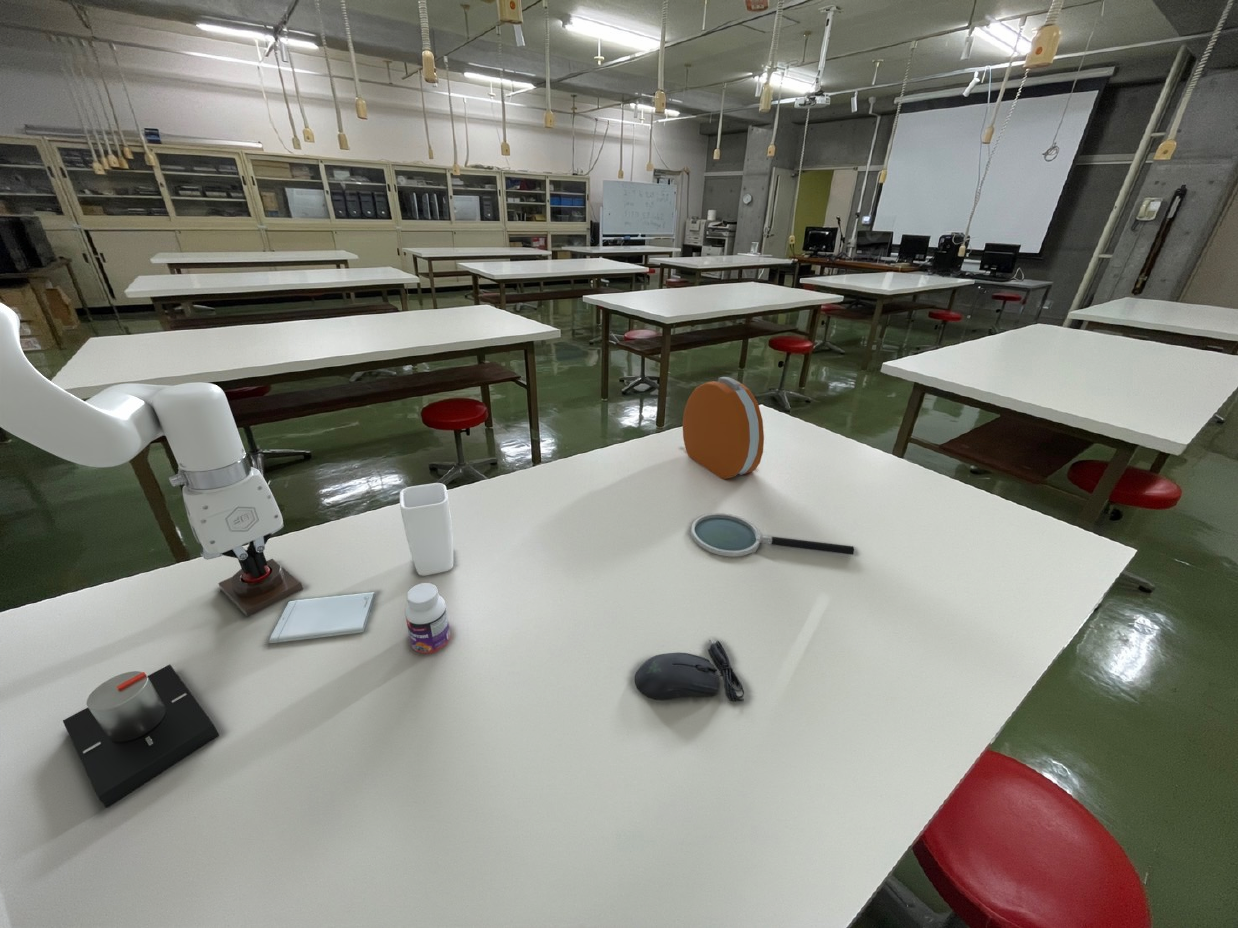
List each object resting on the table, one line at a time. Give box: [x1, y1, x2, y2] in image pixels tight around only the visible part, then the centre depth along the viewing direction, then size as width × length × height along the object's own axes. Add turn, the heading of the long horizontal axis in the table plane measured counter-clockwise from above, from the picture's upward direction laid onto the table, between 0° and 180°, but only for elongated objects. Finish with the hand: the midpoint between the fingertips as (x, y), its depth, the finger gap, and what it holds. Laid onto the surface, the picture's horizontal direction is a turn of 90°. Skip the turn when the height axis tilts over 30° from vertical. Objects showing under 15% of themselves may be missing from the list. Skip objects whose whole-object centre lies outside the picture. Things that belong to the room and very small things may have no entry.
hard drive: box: [268, 591, 376, 644], centre depth 76 cm, size 2×8×12 cm
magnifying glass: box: [690, 512, 855, 558], centre depth 97 cm, size 13×31×2 cm, turn 81°
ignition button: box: [242, 566, 271, 583], centre depth 79 cm, size 4×4×2 cm
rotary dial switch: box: [62, 664, 220, 809], centre depth 58 cm, size 14×10×3 cm
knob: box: [86, 670, 166, 742], centre depth 56 cm, size 5×5×6 cm
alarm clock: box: [682, 376, 765, 480], centre depth 123 cm, size 22×10×23 cm, turn 30°
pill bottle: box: [404, 582, 451, 654], centre depth 71 cm, size 5×5×10 cm
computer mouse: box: [634, 637, 745, 703], centre depth 68 cm, size 10×15×4 cm
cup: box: [399, 482, 454, 576], centre depth 85 cm, size 7×7×15 cm
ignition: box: [217, 558, 304, 618], centre depth 80 cm, size 10×8×4 cm
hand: (257, 572), depth 79 cm, fingers closed
